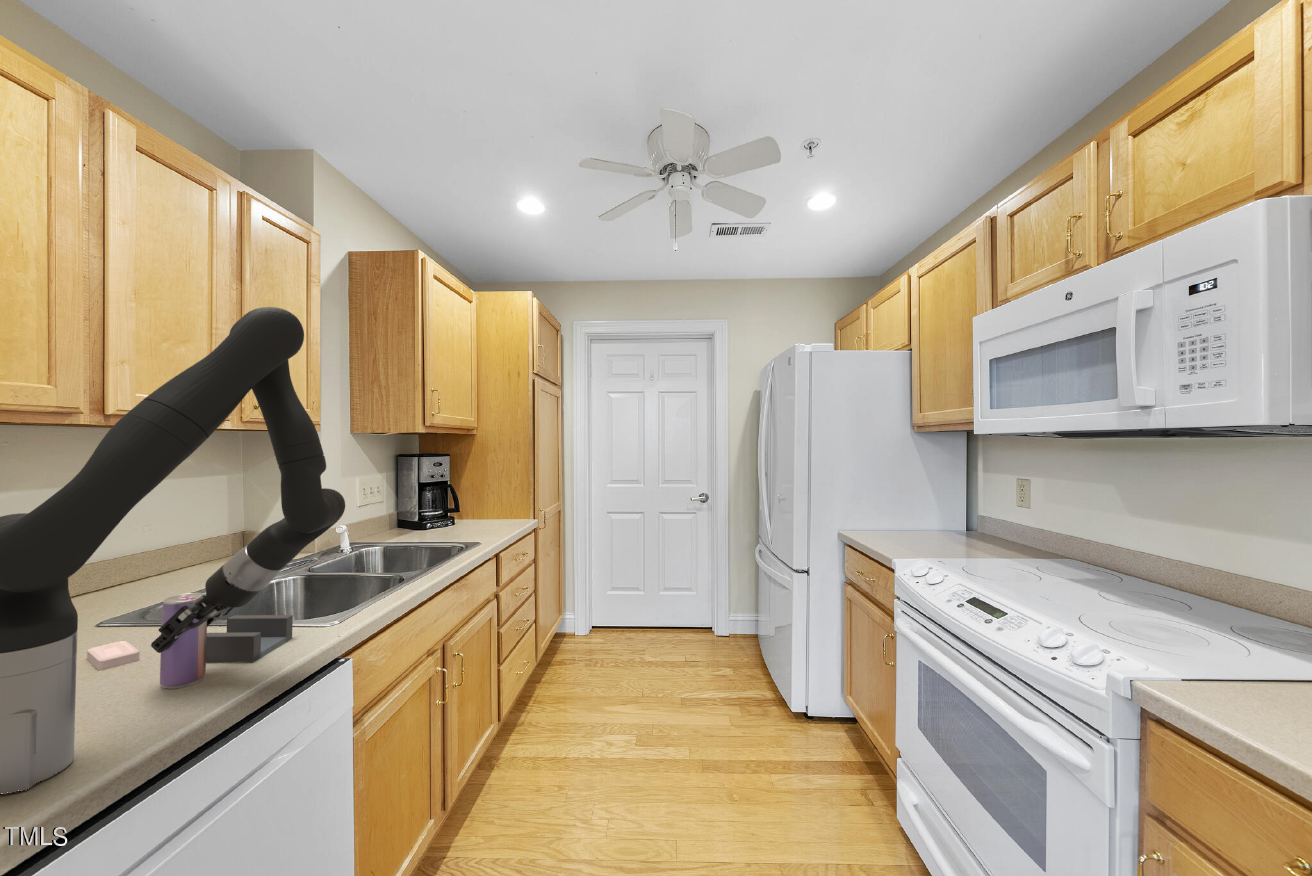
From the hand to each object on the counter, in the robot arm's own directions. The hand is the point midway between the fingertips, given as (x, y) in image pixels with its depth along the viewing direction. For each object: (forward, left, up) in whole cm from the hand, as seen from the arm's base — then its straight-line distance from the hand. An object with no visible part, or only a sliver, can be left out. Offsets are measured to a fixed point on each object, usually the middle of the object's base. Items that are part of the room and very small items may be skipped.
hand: (174, 640), depth 91 cm
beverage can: (-1, -2, -8) cm, 8 cm away
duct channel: (+12, -7, -7) cm, 16 cm away
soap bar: (+15, +14, -8) cm, 23 cm away
